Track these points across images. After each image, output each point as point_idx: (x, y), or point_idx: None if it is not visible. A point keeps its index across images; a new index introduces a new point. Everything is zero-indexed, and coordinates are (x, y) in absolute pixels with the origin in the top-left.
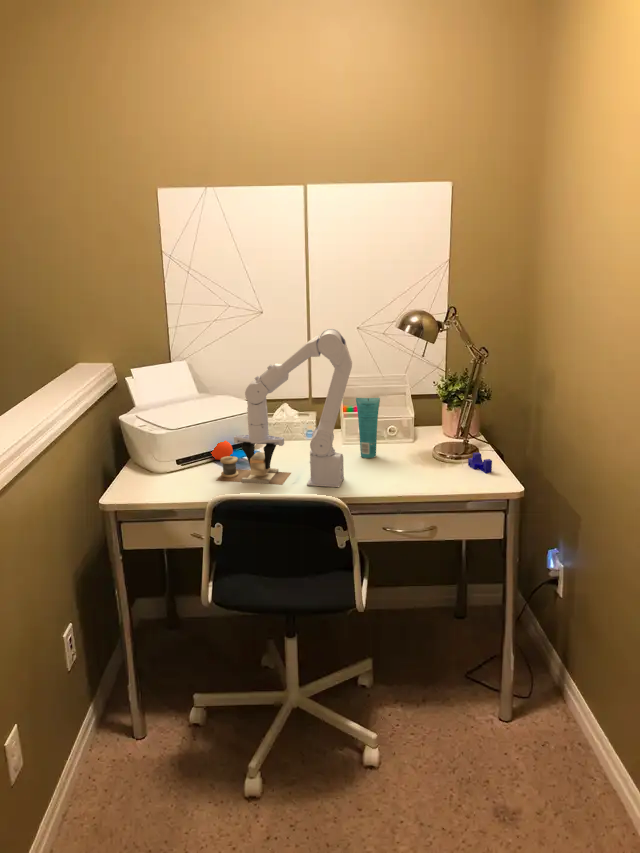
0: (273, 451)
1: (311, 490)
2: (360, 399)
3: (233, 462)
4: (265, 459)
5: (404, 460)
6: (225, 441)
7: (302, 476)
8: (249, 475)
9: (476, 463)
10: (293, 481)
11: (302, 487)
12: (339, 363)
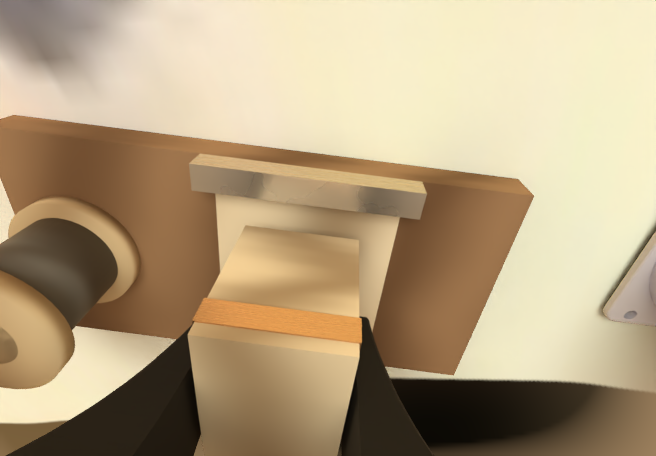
0: (425, 451)
1: (609, 358)
2: None
3: (62, 366)
4: (343, 450)
5: None
6: None
7: (609, 153)
8: (217, 254)
9: None
10: (521, 247)
11: (565, 326)
12: None
